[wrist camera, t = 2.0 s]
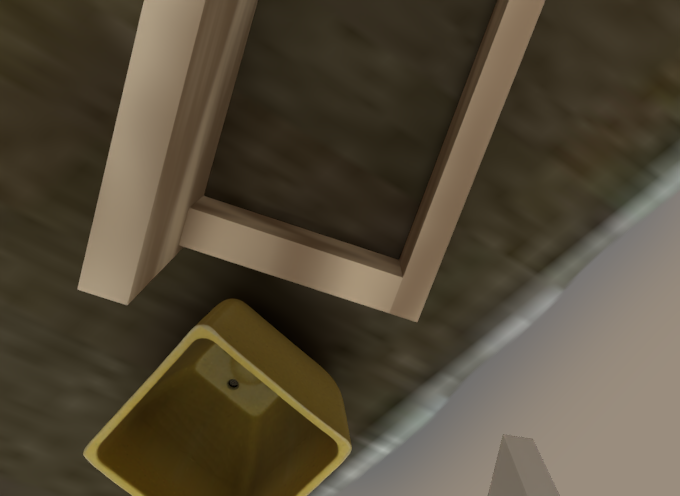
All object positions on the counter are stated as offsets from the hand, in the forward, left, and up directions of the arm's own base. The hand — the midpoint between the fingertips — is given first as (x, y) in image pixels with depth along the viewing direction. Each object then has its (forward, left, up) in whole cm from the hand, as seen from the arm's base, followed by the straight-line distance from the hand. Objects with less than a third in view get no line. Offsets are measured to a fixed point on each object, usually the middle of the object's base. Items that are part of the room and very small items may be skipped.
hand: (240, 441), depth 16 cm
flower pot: (-1, -8, -19) cm, 21 cm away
